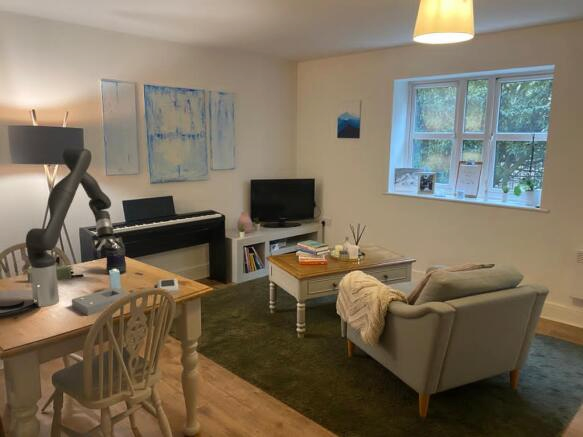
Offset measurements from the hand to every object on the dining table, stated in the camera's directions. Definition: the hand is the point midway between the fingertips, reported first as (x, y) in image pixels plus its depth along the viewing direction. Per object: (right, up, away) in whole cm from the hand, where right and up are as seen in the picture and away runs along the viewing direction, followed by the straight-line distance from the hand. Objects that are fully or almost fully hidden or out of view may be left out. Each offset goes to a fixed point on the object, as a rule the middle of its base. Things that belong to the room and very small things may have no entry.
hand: (109, 257), depth 218 cm
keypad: (+29, -16, -3) cm, 33 cm away
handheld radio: (-31, -13, +9) cm, 34 cm away
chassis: (+6, -19, -22) cm, 30 cm away
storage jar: (-5, -10, +21) cm, 24 cm away
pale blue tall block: (+5, -16, -6) cm, 18 cm away
